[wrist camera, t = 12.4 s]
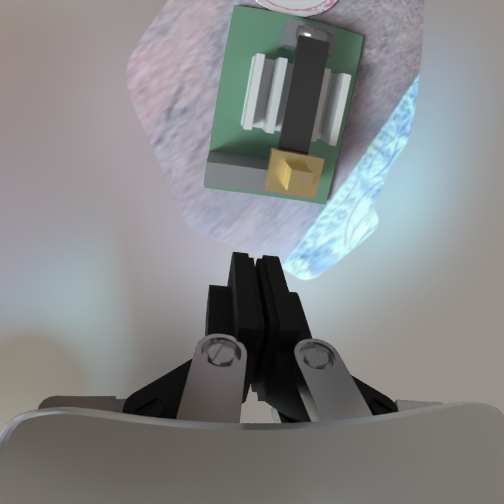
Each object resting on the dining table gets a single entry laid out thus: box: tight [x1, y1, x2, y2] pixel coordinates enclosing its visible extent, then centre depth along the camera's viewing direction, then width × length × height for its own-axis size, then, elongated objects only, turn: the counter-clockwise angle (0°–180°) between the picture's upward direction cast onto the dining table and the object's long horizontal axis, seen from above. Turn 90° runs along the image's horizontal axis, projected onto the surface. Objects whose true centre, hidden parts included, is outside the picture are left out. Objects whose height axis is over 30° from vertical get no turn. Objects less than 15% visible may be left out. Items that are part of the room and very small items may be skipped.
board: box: [204, 5, 363, 205], centre depth 30 cm, size 22×15×7 cm
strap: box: [277, 24, 332, 154], centre depth 27 cm, size 15×3×2 cm, turn 170°
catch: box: [263, 148, 325, 199], centre depth 28 cm, size 4×5×3 cm
